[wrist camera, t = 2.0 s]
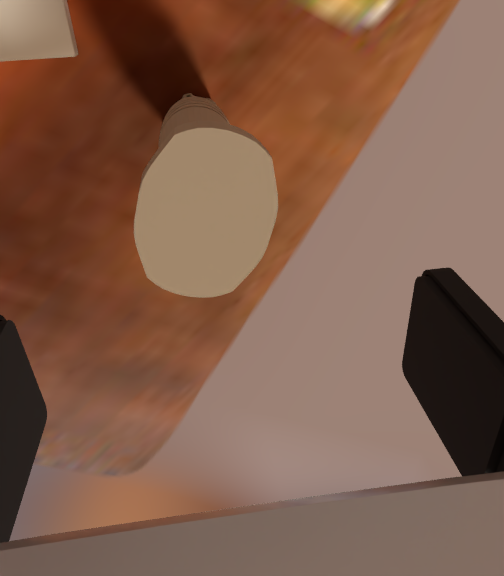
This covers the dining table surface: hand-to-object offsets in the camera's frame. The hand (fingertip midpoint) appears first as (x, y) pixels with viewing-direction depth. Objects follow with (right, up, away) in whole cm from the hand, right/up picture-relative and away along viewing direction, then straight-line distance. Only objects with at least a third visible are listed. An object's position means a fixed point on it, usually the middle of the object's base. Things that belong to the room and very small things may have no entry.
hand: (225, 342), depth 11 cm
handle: (-3, +12, +18) cm, 22 cm away
